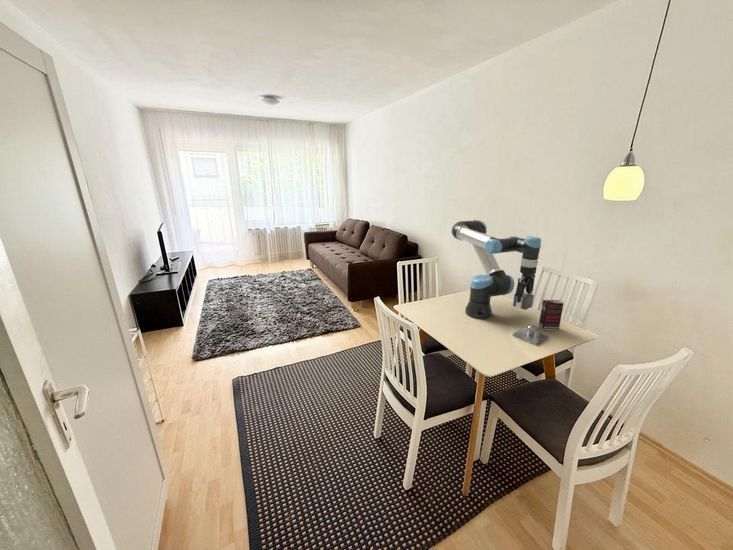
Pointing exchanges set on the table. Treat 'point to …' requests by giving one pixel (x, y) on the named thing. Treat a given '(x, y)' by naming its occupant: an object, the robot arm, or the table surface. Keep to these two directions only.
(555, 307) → the supplement box
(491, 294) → the robot arm
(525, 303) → the grey cube
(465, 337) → the table surface
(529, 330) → the hub
